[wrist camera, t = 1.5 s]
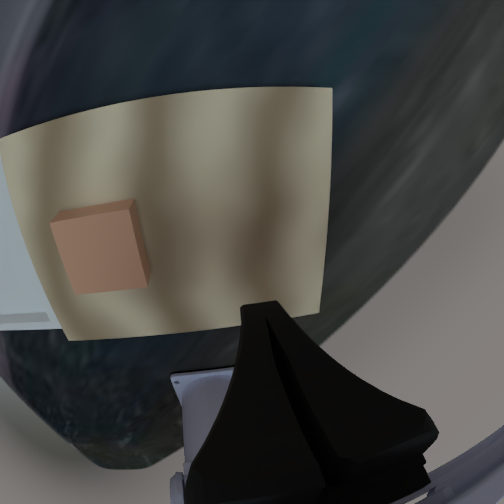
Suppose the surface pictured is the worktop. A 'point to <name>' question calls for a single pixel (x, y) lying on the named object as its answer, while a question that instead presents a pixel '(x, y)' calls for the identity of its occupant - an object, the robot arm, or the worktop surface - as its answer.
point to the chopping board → (185, 204)
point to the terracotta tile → (102, 247)
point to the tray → (19, 275)
